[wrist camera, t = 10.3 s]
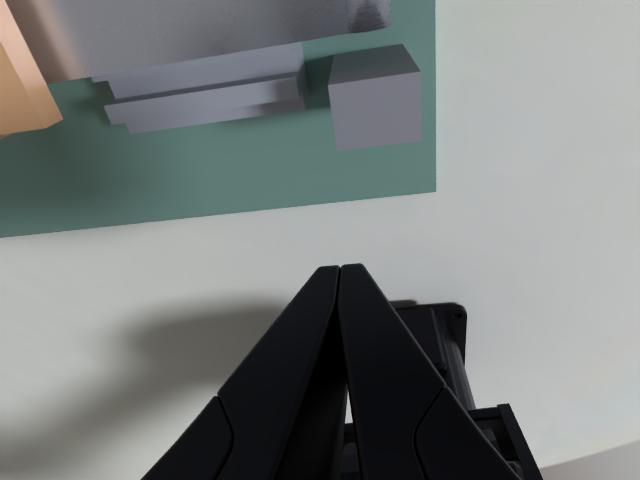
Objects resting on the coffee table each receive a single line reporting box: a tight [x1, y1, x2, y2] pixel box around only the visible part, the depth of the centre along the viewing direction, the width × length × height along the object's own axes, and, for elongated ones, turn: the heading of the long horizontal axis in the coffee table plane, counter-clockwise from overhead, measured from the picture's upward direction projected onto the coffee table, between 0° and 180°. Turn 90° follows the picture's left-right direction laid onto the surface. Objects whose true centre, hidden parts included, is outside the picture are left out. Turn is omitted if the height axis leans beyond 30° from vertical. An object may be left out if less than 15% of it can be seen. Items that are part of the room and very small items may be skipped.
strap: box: [5, 0, 392, 84], centre depth 12 cm, size 3×13×1 cm, turn 99°
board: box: [0, 0, 436, 238], centre depth 14 cm, size 18×23×6 cm
